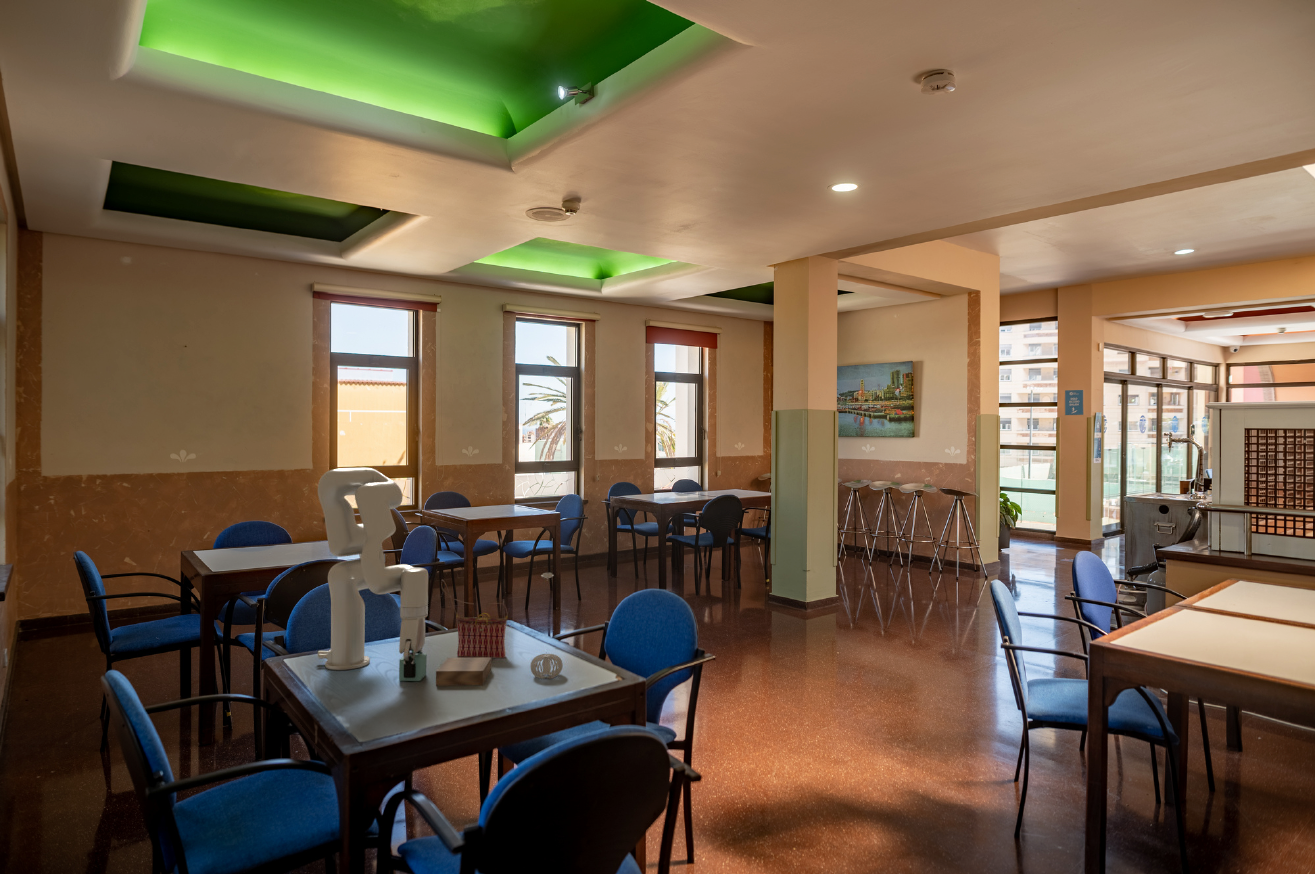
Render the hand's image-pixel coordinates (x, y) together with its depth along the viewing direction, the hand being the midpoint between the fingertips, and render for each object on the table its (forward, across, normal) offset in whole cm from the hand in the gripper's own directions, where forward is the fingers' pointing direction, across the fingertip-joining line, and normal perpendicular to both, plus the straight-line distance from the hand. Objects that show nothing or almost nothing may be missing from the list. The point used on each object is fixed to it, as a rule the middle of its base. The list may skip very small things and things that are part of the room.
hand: (412, 673), depth 211 cm
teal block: (+1, 0, 0) cm, 1 cm away
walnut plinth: (+1, 0, +15) cm, 15 cm away
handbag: (+2, -20, +13) cm, 24 cm away
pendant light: (+1, -1, +38) cm, 38 cm away
